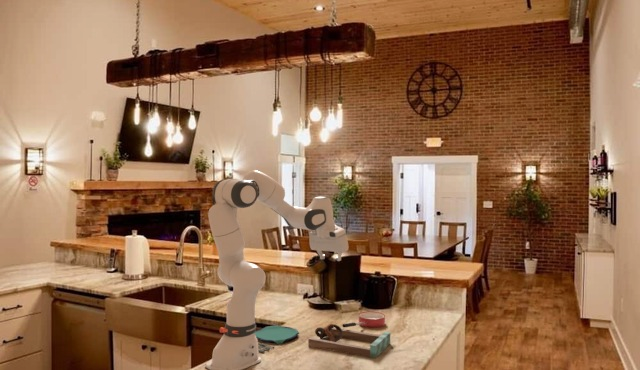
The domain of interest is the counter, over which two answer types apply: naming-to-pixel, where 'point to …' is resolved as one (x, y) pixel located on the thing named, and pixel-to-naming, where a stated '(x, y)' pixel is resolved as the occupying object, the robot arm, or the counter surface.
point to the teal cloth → (275, 335)
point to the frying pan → (369, 320)
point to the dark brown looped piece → (326, 332)
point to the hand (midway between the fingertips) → (330, 259)
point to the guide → (375, 348)
